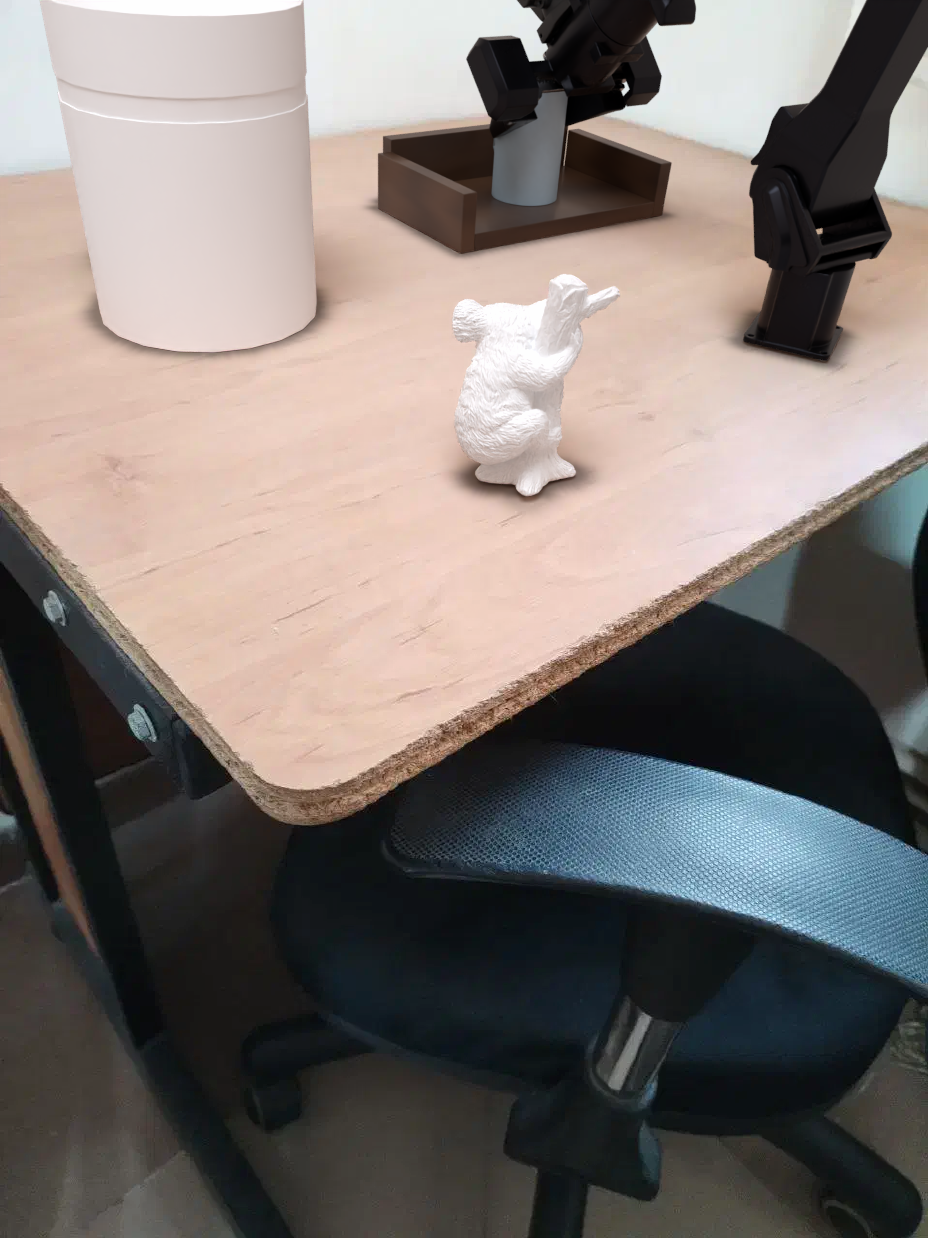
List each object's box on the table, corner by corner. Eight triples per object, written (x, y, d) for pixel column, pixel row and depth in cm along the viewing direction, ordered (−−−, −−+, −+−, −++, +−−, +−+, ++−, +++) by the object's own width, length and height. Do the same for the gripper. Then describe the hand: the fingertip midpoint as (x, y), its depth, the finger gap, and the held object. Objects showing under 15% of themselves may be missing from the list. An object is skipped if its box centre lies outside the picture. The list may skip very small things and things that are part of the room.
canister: (352, 329, 71) (346, 12, 58) (135, 368, 64) (74, 19, 51) (269, 258, 81) (249, -25, 68) (75, 285, 74) (11, -24, 61)
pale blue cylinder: (569, 200, 93) (585, 73, 86) (518, 209, 90) (529, 77, 83) (517, 177, 98) (528, 55, 91) (467, 185, 95) (473, 59, 88)
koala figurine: (596, 461, 58) (628, 261, 50) (579, 520, 53) (613, 308, 45) (460, 437, 59) (472, 240, 51) (432, 493, 54) (440, 283, 46)
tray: (662, 215, 96) (674, 150, 92) (460, 253, 84) (464, 181, 80) (563, 174, 106) (570, 114, 102) (369, 203, 94) (369, 137, 90)
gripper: (663, -81, 81) (564, 44, 95) (488, -84, 72) (406, 55, 86) (711, 42, 82) (605, 150, 95) (541, 55, 73) (452, 171, 86)
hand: (520, 129), depth 91 cm, fingers closed on pale blue cylinder, 6 cm apart
